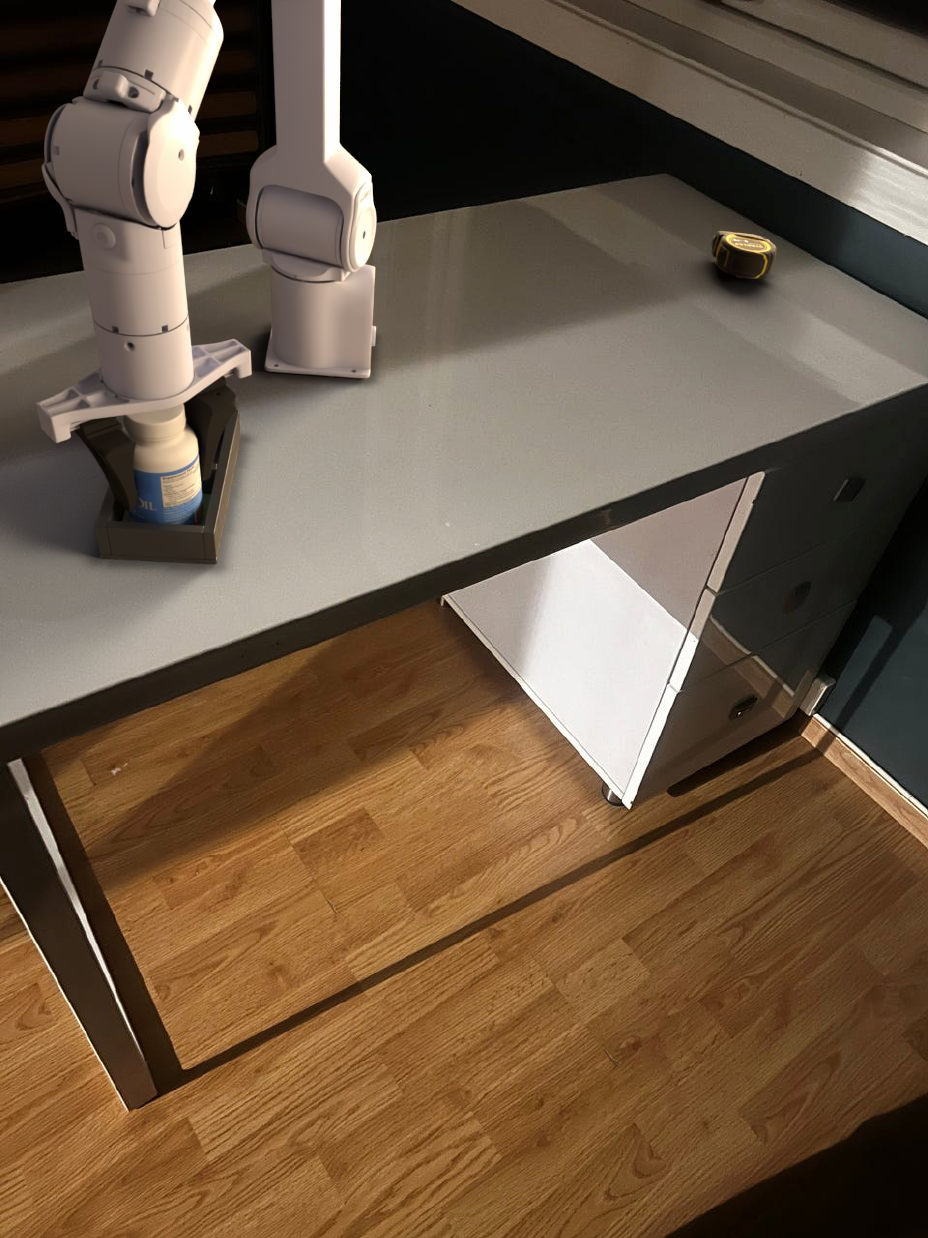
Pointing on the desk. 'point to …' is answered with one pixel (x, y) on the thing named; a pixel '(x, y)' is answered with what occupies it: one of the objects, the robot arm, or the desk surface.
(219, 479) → the divided tray
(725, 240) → the tape measure
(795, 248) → the desk surface
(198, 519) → the pill bottle
